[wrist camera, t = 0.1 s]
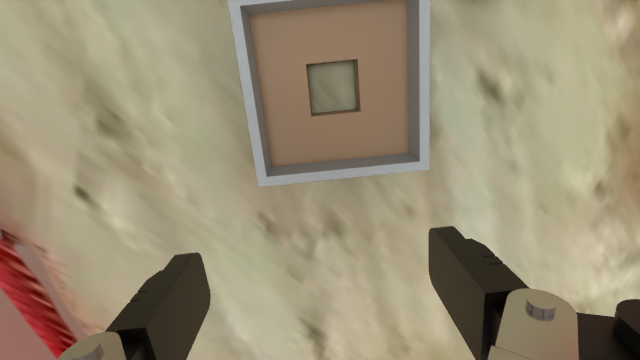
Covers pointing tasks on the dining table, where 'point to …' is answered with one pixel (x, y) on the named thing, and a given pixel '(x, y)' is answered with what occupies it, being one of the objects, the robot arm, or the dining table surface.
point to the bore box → (370, 76)
